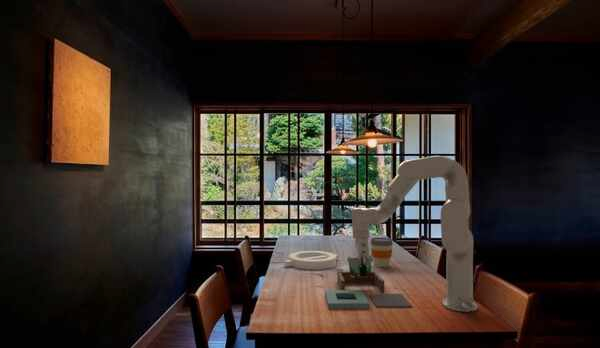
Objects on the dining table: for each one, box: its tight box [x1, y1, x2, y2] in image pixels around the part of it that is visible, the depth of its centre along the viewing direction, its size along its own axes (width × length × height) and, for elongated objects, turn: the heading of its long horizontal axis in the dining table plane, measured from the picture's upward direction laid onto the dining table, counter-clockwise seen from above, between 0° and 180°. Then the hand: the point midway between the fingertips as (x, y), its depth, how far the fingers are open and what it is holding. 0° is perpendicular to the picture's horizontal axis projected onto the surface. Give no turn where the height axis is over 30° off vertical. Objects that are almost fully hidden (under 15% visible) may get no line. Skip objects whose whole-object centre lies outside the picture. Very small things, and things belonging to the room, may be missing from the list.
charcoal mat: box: [369, 293, 413, 308], centre depth 143 cm, size 14×14×1 cm
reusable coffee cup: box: [370, 237, 393, 268], centre depth 202 cm, size 13×13×15 cm
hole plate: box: [324, 289, 371, 309], centre depth 143 cm, size 16×16×2 cm
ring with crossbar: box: [283, 250, 340, 270], centre depth 207 cm, size 28×28×5 cm
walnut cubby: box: [336, 271, 385, 293], centre depth 162 cm, size 16×19×5 cm
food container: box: [347, 254, 373, 280], centre depth 159 cm, size 12×6×10 cm, turn 104°
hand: (362, 273), depth 160 cm, fingers closed on food container, 5 cm apart
